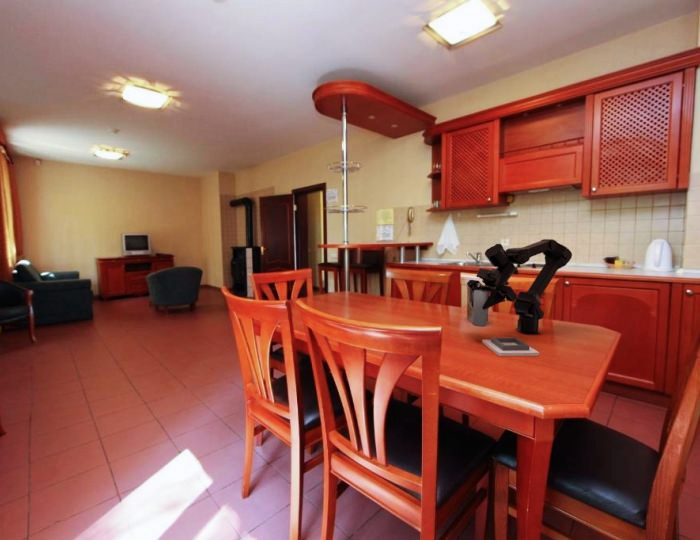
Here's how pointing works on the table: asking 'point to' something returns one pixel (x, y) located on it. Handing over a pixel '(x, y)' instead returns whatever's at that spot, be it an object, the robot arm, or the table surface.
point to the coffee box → (470, 308)
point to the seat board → (510, 347)
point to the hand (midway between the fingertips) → (477, 307)
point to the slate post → (480, 308)
